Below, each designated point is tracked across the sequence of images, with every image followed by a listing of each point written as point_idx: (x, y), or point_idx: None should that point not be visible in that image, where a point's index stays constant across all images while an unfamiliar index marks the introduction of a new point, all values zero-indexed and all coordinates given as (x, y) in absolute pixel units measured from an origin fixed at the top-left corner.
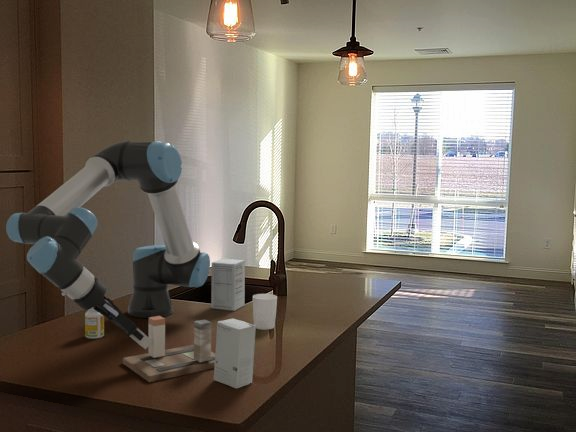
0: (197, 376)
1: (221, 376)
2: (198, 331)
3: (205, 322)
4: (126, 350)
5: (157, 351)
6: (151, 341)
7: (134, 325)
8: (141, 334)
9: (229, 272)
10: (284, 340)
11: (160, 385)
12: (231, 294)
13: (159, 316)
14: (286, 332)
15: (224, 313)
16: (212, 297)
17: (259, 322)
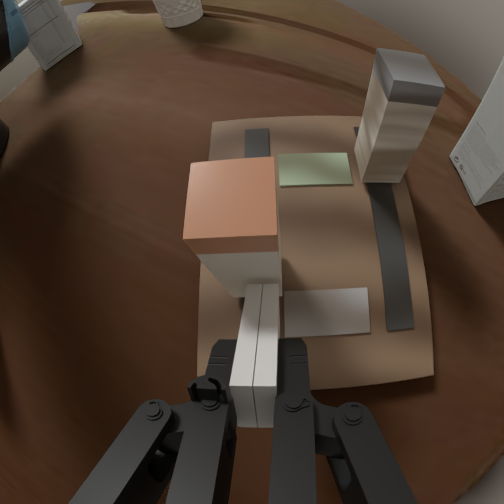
0: (437, 225)
1: (499, 193)
2: (421, 111)
3: (422, 65)
4: (95, 311)
5: (281, 273)
6: (278, 290)
7: (380, 439)
8: (307, 356)
9: (45, 3)
10: (275, 14)
11: (458, 350)
12: (65, 28)
13: (204, 168)
14: (236, 6)
15: (76, 56)
16: (37, 57)
17: (186, 13)
